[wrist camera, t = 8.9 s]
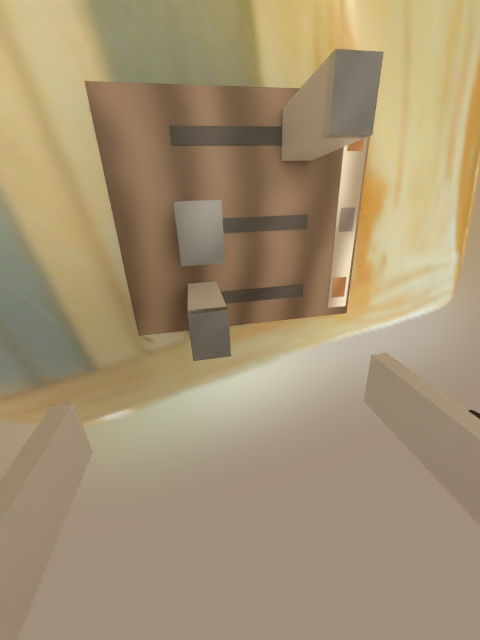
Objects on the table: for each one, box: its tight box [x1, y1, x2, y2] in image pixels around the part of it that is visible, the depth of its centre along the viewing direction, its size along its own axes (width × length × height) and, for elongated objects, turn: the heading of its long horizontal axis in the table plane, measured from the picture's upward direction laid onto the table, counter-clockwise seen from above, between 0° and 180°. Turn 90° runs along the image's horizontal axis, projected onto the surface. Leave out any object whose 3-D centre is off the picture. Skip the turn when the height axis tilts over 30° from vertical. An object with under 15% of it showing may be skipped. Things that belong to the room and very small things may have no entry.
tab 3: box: [281, 49, 383, 161], centre depth 20 cm, size 3×4×9 cm
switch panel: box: [85, 81, 370, 336], centre depth 27 cm, size 25×22×3 cm
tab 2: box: [187, 281, 231, 361], centre depth 24 cm, size 3×4×9 cm
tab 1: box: [173, 200, 225, 266], centre depth 21 cm, size 3×4×9 cm
